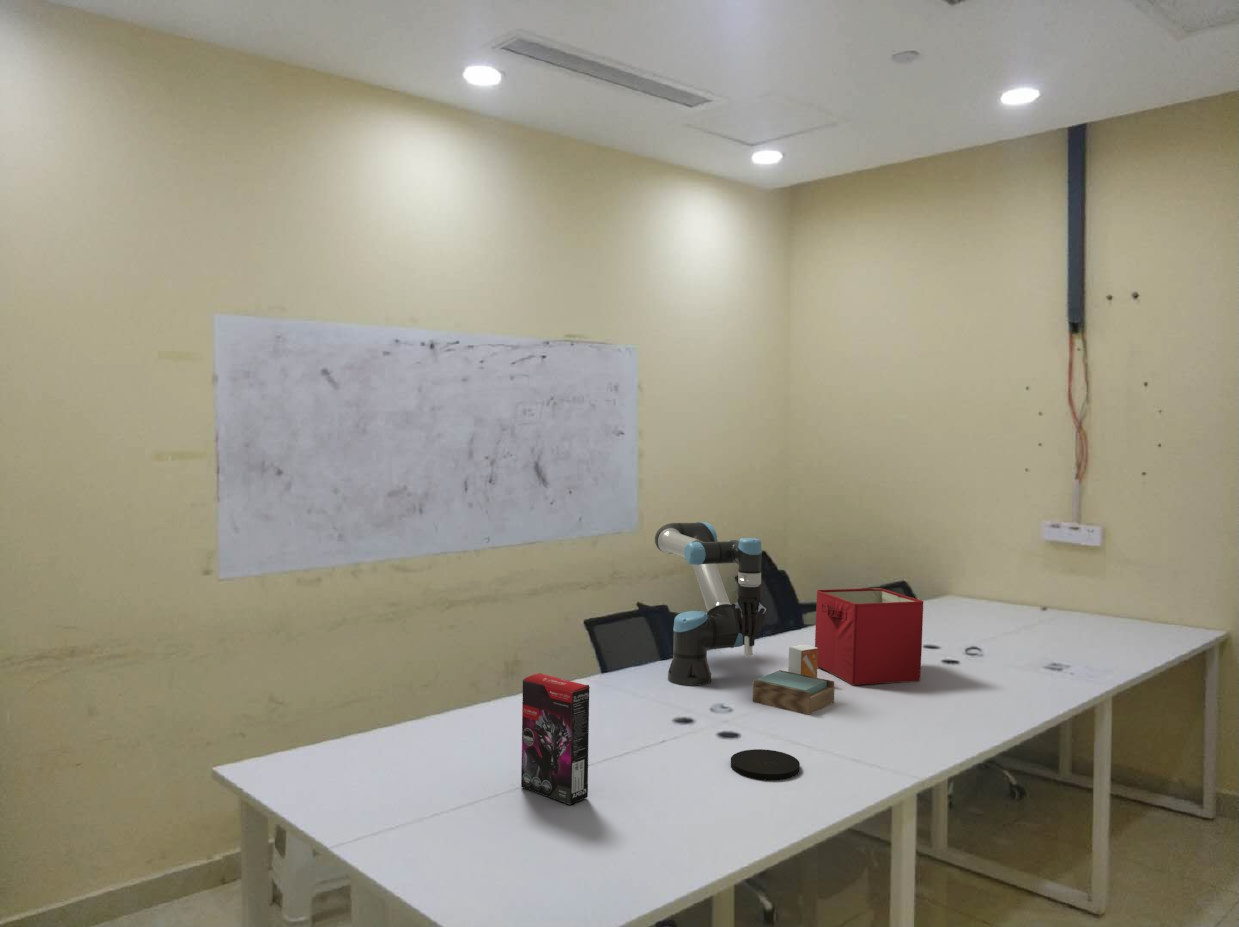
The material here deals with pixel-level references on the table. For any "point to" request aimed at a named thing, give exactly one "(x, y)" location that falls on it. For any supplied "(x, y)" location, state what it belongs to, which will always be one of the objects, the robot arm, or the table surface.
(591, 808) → the table surface
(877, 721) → the table surface
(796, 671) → the small box
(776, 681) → the cover plate
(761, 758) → the wireless charger
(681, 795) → the table surface
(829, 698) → the walnut case
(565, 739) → the graphics card box
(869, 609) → the storage cube
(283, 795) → the table surface
